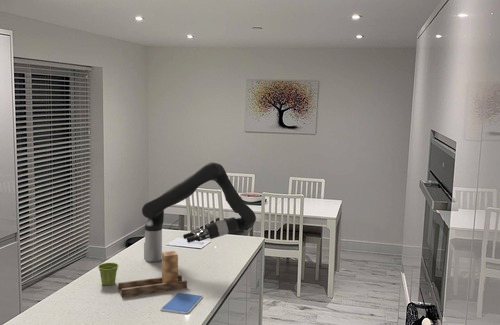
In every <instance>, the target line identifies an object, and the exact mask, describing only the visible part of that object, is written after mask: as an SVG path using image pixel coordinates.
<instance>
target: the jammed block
mask: <svg viewBox="0 0 500 325" xmlns="http://www.w3.org/2000/svg"><path fill="white" fill-rule="evenodd" d="M178 275H179V255H178V253H177V252H176V251H175V250H174V251H173V250H172V251H162V260H161V277H162V283H169V282H176V281H178Z"/></svg>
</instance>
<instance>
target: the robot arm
mask: <svg viewBox="0 0 500 325" xmlns="http://www.w3.org/2000/svg"><path fill="white" fill-rule="evenodd" d="M210 181H213V182H216V184H217V185H218V186H219V188H220V189H221V190H222V193H223V196H224V198H225V200H226V202H227V204H228V205H229V207H230V208H231V210H232V211H233V212H234V213H236V214H238V215H239V216H240V217H238V218H237V217H236V218H235V217H228V218H225V219H221V220H217V221H213V222H210V223H207V224H206V225H205V228H203V227H200V228H196V229H193V230H190V232H188V233H184V234H183V235H182V237H183V239H184V240H186V242H187V243H188V244H189V243H192V242H202V241H204V240H208V239H210V240H213V239H216V238H219V237H223V236H225V235H228V234H231V233H234V232H238V231H239V232H240V231H247V230H249V229H251V228H253V226H254V224H255V223H256V220H257V216H256V214H255V211H253V209H252V208H250V207H249V206H248V205H247V204H246V203H245V201H244V200H243V198H242V196H240V194H239V193H238V191H237V190H236V189H235V186H233V183H232V182H231V180H230V178H229V176H228V174H227V172H226V169H225V168H224V167H223V165H222V164H220V163H218V162H217V163H216V162H214V161H213V162H208V163H206V164H204V165H203V166H202V167H201V168H199V169H198V170H196V171H195V172H194V173H192V174H191V175H189V176H188V177H186V178H184V179H183V180H181V181H179V182H178V183H176V184H175V185H173V186H172V187H170V188H169V189H167V190H166V191H165V192H164V193H162V194H161V195H159V196H158V197H156V198H154V199H151V200H149V201H147V202H145V203H144V204H143V206H142V208H141V213H142V216H144V218H147V221H146V223H145V224H144V242H143V259H144V260H145V261H146V262H148V263H157V262H160V261H162V252H163V224H164V218H165V215H164V214H165V209H168V208H170V207H172V206H174V205H176V204H179V203H181V202H182V201H183V202H184V201H185V200H186V199H188V198H189V197H191V196H192V195H194V193H195V191H197V189H198V188H199V187H200V186H202V185H204V184H206V183H208V182H210Z"/></svg>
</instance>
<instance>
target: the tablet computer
mask: <svg viewBox="0 0 500 325" xmlns="http://www.w3.org/2000/svg"><path fill="white" fill-rule="evenodd" d="M203 298H204V296H203V295H198V294H193V293H183V292H177V293H176V294H174V295H173V297H171V299H170V300H169V301H167V302H166V303H165V304H164V305H163V306H162V307H161V308H160V312H167V313H174V314H181V315H188V314H190V312H191V311H192V310H193V309H194V308H195V307H196V306H197V304H198V303H199V302H200V301H201V300H202V299H203Z"/></svg>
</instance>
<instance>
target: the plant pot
mask: <svg viewBox="0 0 500 325" xmlns="http://www.w3.org/2000/svg"><path fill="white" fill-rule="evenodd" d="M97 268H98V270H99V273H100V274H99V275H100V279H101V285H103V286H109V285H110V286H112V285H114V284H115V283H116V280H117V279H116V278H117V272H118V268H119V264H118V263H117V262H104V263H101V264H98V266H97Z"/></svg>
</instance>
